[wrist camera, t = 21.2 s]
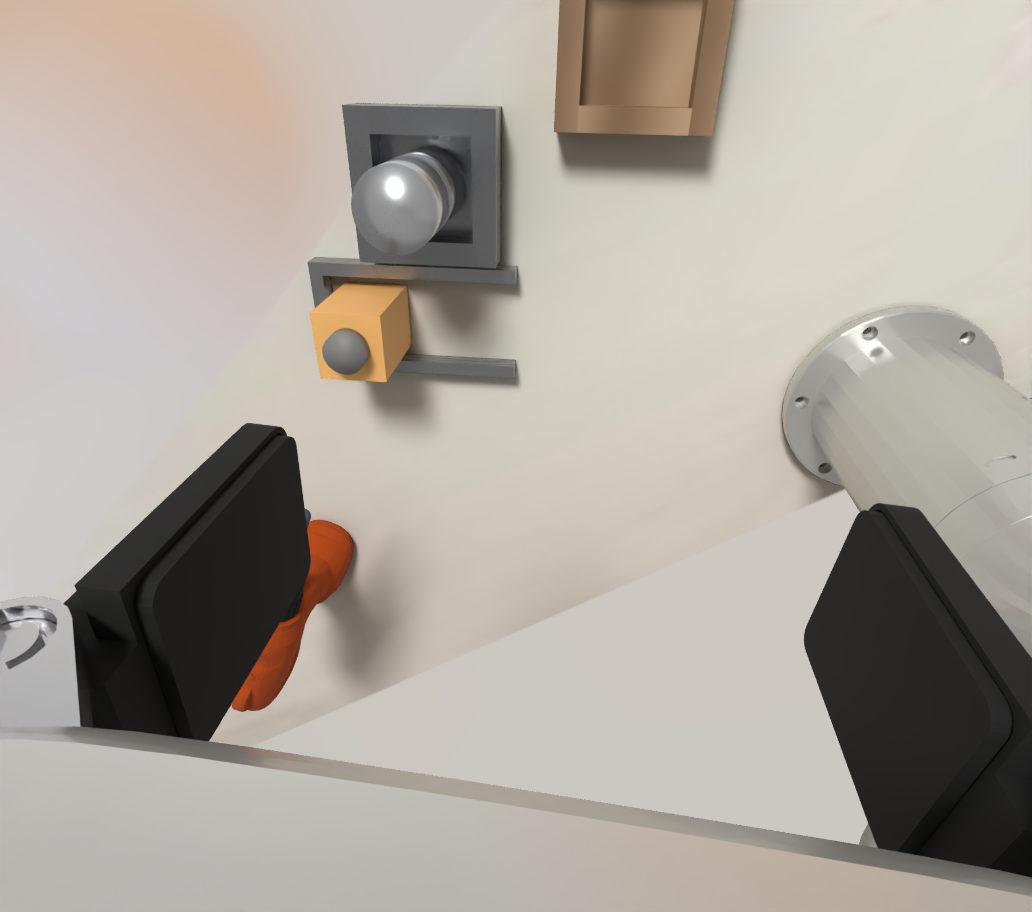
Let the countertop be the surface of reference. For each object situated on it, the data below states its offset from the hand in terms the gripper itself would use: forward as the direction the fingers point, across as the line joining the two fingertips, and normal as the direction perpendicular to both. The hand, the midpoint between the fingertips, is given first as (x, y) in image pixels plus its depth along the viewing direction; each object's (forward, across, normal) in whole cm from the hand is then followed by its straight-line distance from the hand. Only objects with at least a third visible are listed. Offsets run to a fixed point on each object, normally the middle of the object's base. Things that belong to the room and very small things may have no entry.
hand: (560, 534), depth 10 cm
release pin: (+30, +13, +7) cm, 33 cm away
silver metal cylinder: (+29, +9, -1) cm, 31 cm away
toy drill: (+30, +17, +24) cm, 42 cm away
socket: (+30, +9, -1) cm, 31 cm away
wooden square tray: (+30, -1, -9) cm, 31 cm away
